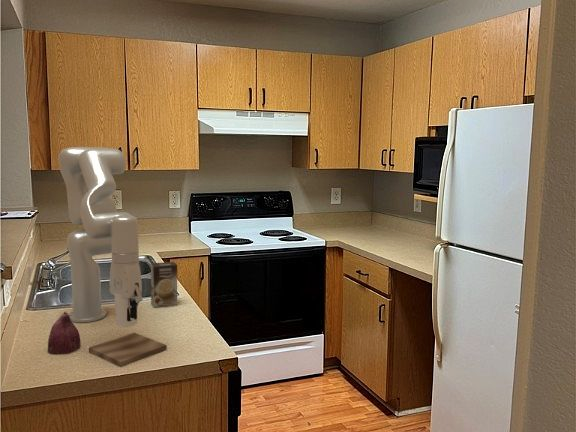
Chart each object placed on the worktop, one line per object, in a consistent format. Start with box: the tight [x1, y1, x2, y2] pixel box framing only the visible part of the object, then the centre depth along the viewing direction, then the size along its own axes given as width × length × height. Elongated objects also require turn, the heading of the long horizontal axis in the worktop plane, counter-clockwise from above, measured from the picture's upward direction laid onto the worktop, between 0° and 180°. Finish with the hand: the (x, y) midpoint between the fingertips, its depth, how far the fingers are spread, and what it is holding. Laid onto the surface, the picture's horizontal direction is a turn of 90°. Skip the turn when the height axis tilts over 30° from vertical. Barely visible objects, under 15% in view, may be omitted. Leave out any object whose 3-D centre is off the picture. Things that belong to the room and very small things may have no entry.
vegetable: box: [47, 311, 81, 355], centre depth 154 cm, size 10×9×14 cm
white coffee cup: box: [113, 292, 138, 328], centre depth 153 cm, size 7×7×10 cm
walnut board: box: [88, 332, 168, 368], centre depth 154 cm, size 16×16×2 cm
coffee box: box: [150, 261, 178, 308], centre depth 199 cm, size 9×6×16 cm
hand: (127, 317), depth 153 cm, fingers closed on white coffee cup, 3 cm apart
